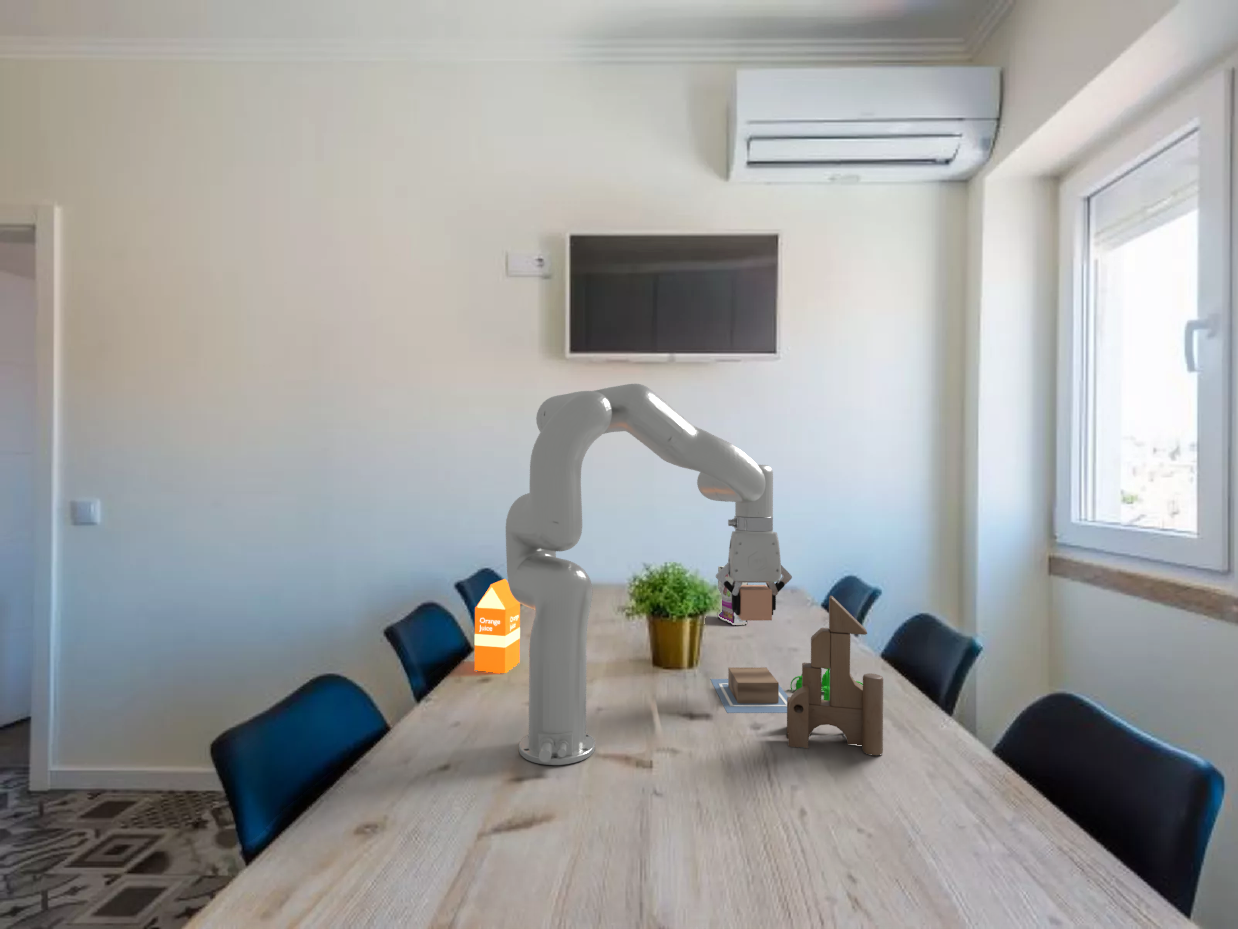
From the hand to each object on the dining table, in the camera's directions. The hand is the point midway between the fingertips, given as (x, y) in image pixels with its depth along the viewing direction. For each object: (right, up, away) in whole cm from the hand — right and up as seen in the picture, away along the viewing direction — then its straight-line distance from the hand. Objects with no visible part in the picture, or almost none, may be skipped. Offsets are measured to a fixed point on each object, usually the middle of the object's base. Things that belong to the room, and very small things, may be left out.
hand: (753, 612), depth 137 cm
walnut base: (0, -17, 0) cm, 17 cm away
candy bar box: (+7, -18, +68) cm, 71 cm away
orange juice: (-56, -17, +21) cm, 62 cm away
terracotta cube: (0, -1, 0) cm, 1 cm away
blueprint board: (0, -18, 0) cm, 18 cm away
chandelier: (+16, -18, +1) cm, 24 cm away
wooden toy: (+9, -18, -22) cm, 30 cm away
